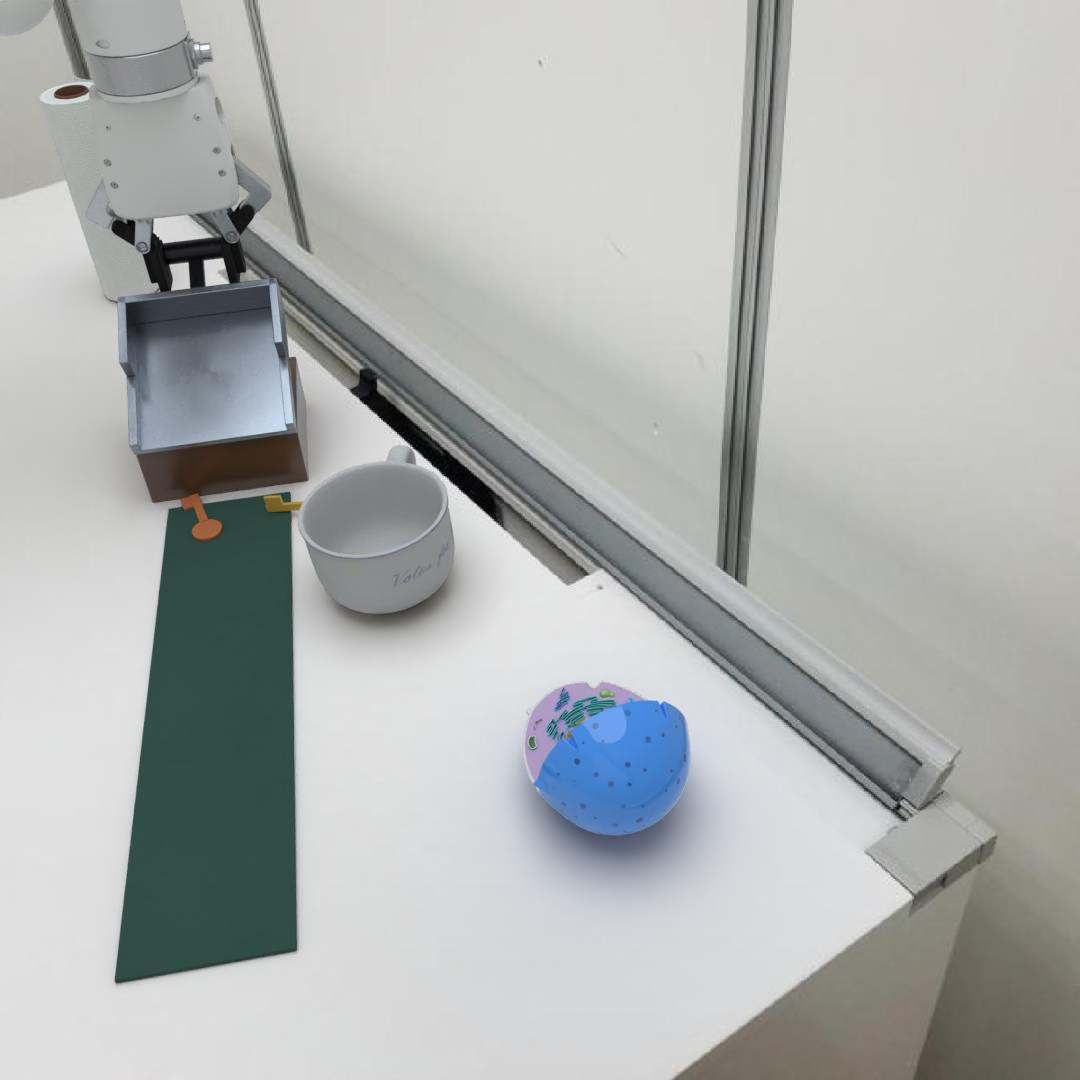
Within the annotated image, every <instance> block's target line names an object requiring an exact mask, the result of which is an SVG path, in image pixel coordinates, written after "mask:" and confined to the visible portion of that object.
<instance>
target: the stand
mask: <svg viewBox="0 0 1080 1080" xmlns="http://www.w3.org/2000/svg"><path fill="white" fill-rule="evenodd" d="M289 360H290V370H291V379H292V389H293V399H294V409H295V418H296V428H297V433H292V434H284V435H277V436H270V437H263V438H255V439H248V440H241V441H233V442H226V443H219V444H212V445H204V446H197V447H190V448H182V449H175V450H168V451H161V452H153V453H146V454H139V455H135V456H136V459H137V462H138V464H139V467H140V468H139V469H140V471H141V473H142V476H143V480H144V482H145V485H146V487H147V491H148V494H149V497H150V500H151V502H152V503H157V502H158V503H159V502H165V501H171V500H180V499H183V498H186V497H189V496H190V495H193V494H197V493H198V495H199V497H201V496H207V495H215V494H223V493H229V492H230V493H231V492H235V491H244V490H250V489H251V490H252V489H258V488H265V487H273V486H278V485H285V484H293V483H300V482H307V481H309V462H308V461H309V459H308V457H309V456H307V455H308V433H307V432H308V430H307V429H308V428H307V429H306V425H307V401H306V397H305V393H304V387H303V384H302V379H301V374H300V369H299V364H298V360H297V357H296V356H289Z"/></svg>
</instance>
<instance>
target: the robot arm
mask: <svg viewBox="0 0 1080 1080" xmlns="http://www.w3.org/2000/svg"><path fill="white" fill-rule="evenodd" d="M54 3H55V0H0V36H1V37H8V36H9V37H11V36H15V35H17V36H18V35H21V34H24V33H26V32H29V31H31V30H33V29H34V28H36V27H37V26H38V25H40V24H41V23H42V22H43V21H44V20H45V19H46V17H47V16H49V13H50V11H51V9H52V8H53V6H54ZM69 4H70V7H71V10H72V13H73V17H74V20H75V23H76V24H75V25H76V27H77V31H78V34H79V37H80V40H81V45H82V47H83V50H84V53H85V57H86V61H87V63H88V66H89V70H90V73H91V77H92V81H94V84H93V85H91V86H90V88H89V102H90V112H91V119H92V126H93V132H94V138H95V143H96V147H97V152H98V157H99V162H100V166H101V171H102V175H103V177H102V179H101V181H100V183H99V185H98V187H97V189H96V191H95V193H94V195H93V197H92V199H91V201H90V203H89V205H88V207H87V211H86V217H87V219H89V220H90V221H92V222H94V223H96V224H98V225H100V226H102V227H104V228H106V229H109V230H111V231H112V232H113V233H114V234H115V235H117V236H118V237H120V238H121V239H123V240H125V241H126V242H128V243H130V244H131V245H133V246H134V247H135V249H136V251H137V252H139V253H141V254H142V255H143V258H144V261H145V265H146V268H147V271H148V275H149V278H150V281H151V283H152V284H154V283H158V286H159V288H158V289H159V292H165V291H172V288H173V283H174V282H173V281H174V278H173V273H172V270H171V265H167V264H166V262H165V259H164V255H163V248H162V245H163V243H164V242H163V239H161V238H160V236H157V234H156V233H155V232H154V227H155V226H154V224H155V219H163V218H172V217H173V218H174V217H182V216H189V215H191V216H192V215H197V214H206V213H209V215H210V216H211V218H212V220H213V222H214V223H215V225H216V227H217V228H218V230H219V231H220V236H221V252H222V256H223V258H222V260H223V263H224V267H225V271H226V275H227V280H228V282H229V283H237V282H241V274H245V273H247V263H246V259H245V255H244V254H245V253H244V250H243V246H242V242H241V235H242V234H243V233H244V232H245V231H246V229H247V227H248V226H249V225H250V224H251V222H252V221H253V220H254V218H255V216H256V215H257V214H258V213H260V211H261V210H262V209H263V208H264V207H265V206H266V205H267V203H269V202H270V201H271V199H272V194H273V193H272V192H273V188H272V187H271V185H270V184H269V183H268V182H266V181H265V180H264V179H263V178H262V177H260V176H259V175H258V174H257V173H256V172H254V171H253V170H252V169H251V168H249V166H248V165H246V164H245V163H244V162H242V161H241V160H240V159H239V158H238V155H237V152H236V148H235V144H234V141H233V138H232V135H231V131H230V128H229V124H228V121H227V118H226V115H225V112H224V109H223V105H222V103H221V100H220V97H219V95H218V92H217V91H216V87H215V86H214V82H213V81H212V79H211V76H210V75H209V72H207V71H206V70H203V69H200V66H202V65H205V63H213V62H214V61H215V59H214V51H213V48H212V44H211V42H202V43H201V42H200V41H196V40H195V38H192V37H191V33H190V31H189V30H188V27H187V23H186V19H185V16H184V11H183V7H182V3H181V0H69ZM239 187H241V188H243V189H244V190H245V191H246V192H247V193H248V195H247V196H246V197H245V198H244V199H242V200H241V201H240V202H239V200H240V191H239ZM238 202H239V203H238ZM109 203H110V204H111V206H112V208H113V210H112V209H111V208H110V207H109ZM237 204H238V205H237ZM236 205H237V206H236ZM234 206H236V208H235V209H234V208H233V207H234ZM134 220H136V222H135V221H134ZM229 283H228V284H229Z"/></svg>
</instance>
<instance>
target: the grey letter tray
mask: <svg viewBox="0 0 1080 1080" xmlns="http://www.w3.org/2000/svg"><path fill="white" fill-rule="evenodd" d="M162 248H163V255H164V259H165V262H166V264H167V265H169V266H171V265H179V264H188V275H189V276H188V277H189V278H188V279H189V288H182V289H173V290H171V291H165V292H160V291H158V292H157V291H156V292H154V293H149V294H141V295H132V296H123V297H117V301H116V304H117V305H116V306H117V332H118V333H117V335H118V336H117V337H118V339H117V340H118V363H119V366H120V368H121V369H122V371H123V372H124V374H125V376H126V396H127V397H126V398H127V399H126V400H127V422H128V423H127V424H128V426H127V427H128V446H129V448H130V449H131V451H132V453H133V454H134V455H135V456H136V455H139V454H146V453H153V452H161V451H168V450H175V449H182V448H190V447H197V446H204V445H212V444H219V443H226V442H233V441H241V440H248V439H255V438H263V437H270V436H277V435H284V434H292V433H297V428H296V418H295V409H294V399H293V389H292V379H291V370H290V360H289V357H290V353H289V351H290V350H289V343H288V342H289V341H288V334H287V333H288V332H287V323H286V322H287V321H286V313H285V304H284V303H285V302H284V300H283V297H282V293H281V290H280V285H279V283H278V279H277V277H270V278H262V279H254V280H246V281H240V282H237V283H222V284H215V285H207V283H206V271H205V270H206V269H205V261H213V260H221V259H222V260H223V256H222V252H221V235H220V236H213V237H203V238H196V239H195V238H194V239H188V240H179V241H170V242H163V245H162Z"/></svg>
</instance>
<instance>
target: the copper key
mask: <svg viewBox="0 0 1080 1080" xmlns="http://www.w3.org/2000/svg"><path fill="white" fill-rule="evenodd" d="M179 501H180V503H181V507H183V509H184V511H187V510H190V509H193V508H194V509H195V512H196V515H197V517H198V520H199V523H197V524H196V525H195V526H194V527H193V529H192V535H193V537H194V538H195V539H196V540H199V541H209V540H213V539H215V538H217V537H218V536H219V535H220V534H221V533H222V531H223V527H222V524H221V523H220V522H219V521H217V520H214V519H208V518H207V515H206V513H205V510H204V508H203V505H202V504H203V503H202V501H201V498H200V496H199V495H198V493H197V494H193V495H190V496H189V497H186V498H180V499H179Z"/></svg>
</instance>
